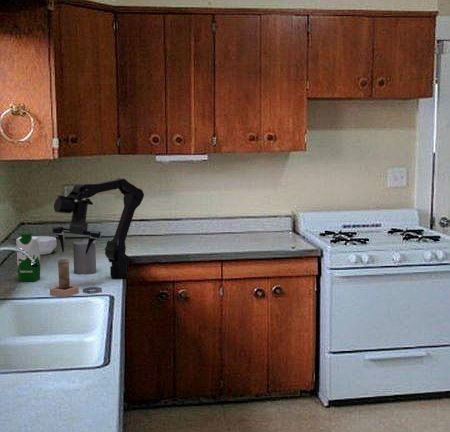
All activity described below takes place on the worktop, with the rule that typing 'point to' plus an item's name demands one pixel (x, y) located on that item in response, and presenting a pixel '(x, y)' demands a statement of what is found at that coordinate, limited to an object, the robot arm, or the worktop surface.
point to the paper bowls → (46, 244)
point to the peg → (63, 274)
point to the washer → (97, 290)
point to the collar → (64, 291)
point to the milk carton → (23, 262)
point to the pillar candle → (84, 257)
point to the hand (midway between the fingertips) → (74, 253)
